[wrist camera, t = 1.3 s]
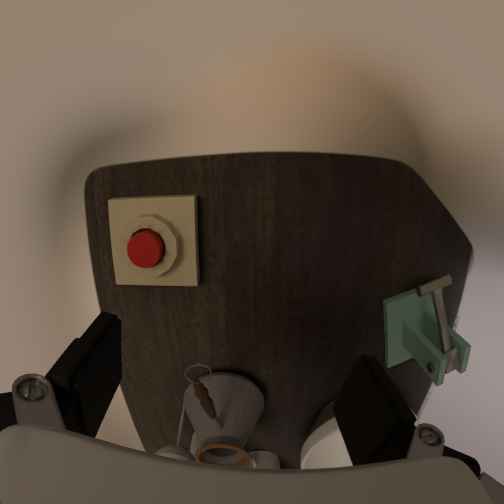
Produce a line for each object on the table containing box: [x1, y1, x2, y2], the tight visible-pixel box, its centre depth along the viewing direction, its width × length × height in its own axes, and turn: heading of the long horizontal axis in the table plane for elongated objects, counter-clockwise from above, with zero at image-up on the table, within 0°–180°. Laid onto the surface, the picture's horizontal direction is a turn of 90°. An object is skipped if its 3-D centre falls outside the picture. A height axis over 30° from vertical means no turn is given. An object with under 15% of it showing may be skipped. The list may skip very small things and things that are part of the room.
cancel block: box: [108, 195, 200, 286], centre depth 31 cm, size 10×10×4 cm
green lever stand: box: [383, 288, 471, 386], centre depth 33 cm, size 12×10×12 cm
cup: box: [244, 451, 280, 469], centre depth 41 cm, size 8×12×10 cm
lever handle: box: [416, 274, 459, 374], centre depth 30 cm, size 12×5×2 cm, turn 15°
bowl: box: [300, 398, 419, 469], centre depth 38 cm, size 20×20×10 cm
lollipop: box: [155, 405, 197, 462], centre depth 33 cm, size 6×6×15 cm
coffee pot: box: [183, 364, 264, 467], centre depth 31 cm, size 21×12×15 cm, turn 4°
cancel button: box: [127, 230, 164, 268], centre depth 29 cm, size 4×4×2 cm
